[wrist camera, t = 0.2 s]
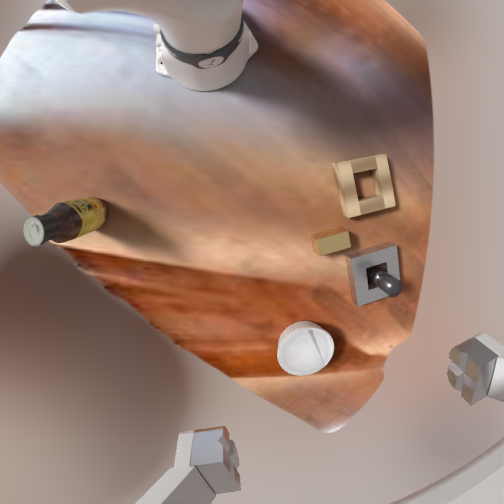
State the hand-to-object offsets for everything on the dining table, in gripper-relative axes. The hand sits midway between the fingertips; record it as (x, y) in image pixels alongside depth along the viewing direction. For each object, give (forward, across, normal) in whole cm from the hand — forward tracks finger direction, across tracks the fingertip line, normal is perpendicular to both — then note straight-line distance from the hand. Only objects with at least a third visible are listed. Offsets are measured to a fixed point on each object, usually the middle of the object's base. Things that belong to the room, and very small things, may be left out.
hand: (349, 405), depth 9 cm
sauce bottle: (+47, +28, -9) cm, 56 cm away
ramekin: (+48, -4, +27) cm, 55 cm away
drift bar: (+47, -13, +8) cm, 50 cm away
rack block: (+47, -22, -1) cm, 52 cm away
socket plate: (+47, -21, +16) cm, 54 cm away
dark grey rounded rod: (+47, -21, +16) cm, 54 cm away
